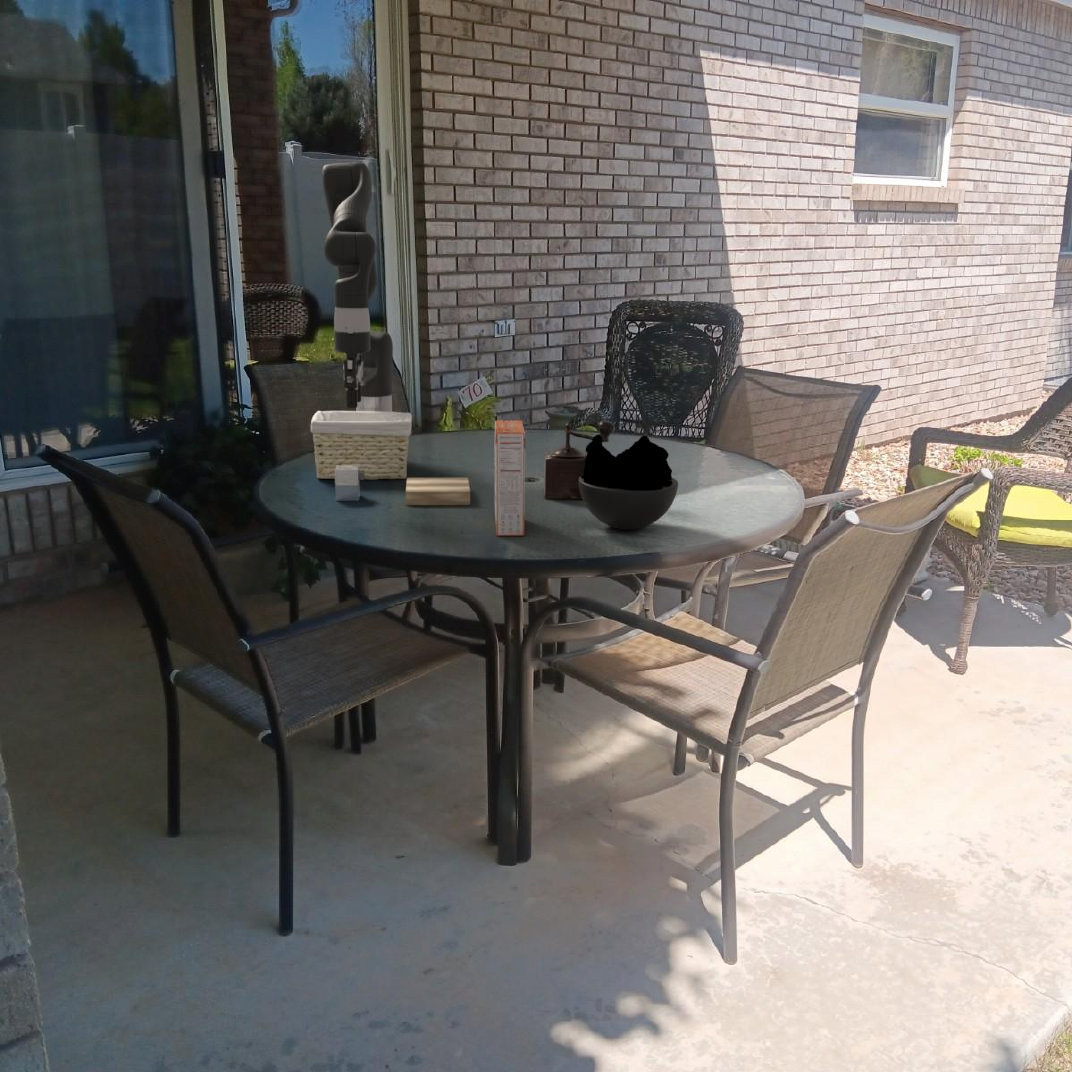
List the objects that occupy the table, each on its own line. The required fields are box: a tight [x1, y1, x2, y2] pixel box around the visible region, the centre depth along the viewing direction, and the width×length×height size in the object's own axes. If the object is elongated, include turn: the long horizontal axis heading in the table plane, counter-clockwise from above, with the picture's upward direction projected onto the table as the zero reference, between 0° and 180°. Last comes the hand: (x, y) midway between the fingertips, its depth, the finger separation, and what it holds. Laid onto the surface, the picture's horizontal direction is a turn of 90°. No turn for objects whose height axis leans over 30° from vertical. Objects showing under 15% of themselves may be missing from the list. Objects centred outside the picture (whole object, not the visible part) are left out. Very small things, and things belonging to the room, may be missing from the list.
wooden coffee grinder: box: [542, 419, 616, 501], centre depth 233 cm, size 16×11×18 cm
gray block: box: [334, 465, 365, 502], centre depth 227 cm, size 5×6×7 cm
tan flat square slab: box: [405, 477, 471, 506], centre depth 230 cm, size 14×14×3 cm
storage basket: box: [310, 410, 413, 481], centre depth 251 cm, size 24×16×15 cm
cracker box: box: [493, 419, 526, 537], centre depth 204 cm, size 14×6×21 cm, turn 3°
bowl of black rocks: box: [579, 434, 679, 531], centre depth 206 cm, size 20×20×19 cm
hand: (354, 404), depth 223 cm, fingers open, 8 cm apart
